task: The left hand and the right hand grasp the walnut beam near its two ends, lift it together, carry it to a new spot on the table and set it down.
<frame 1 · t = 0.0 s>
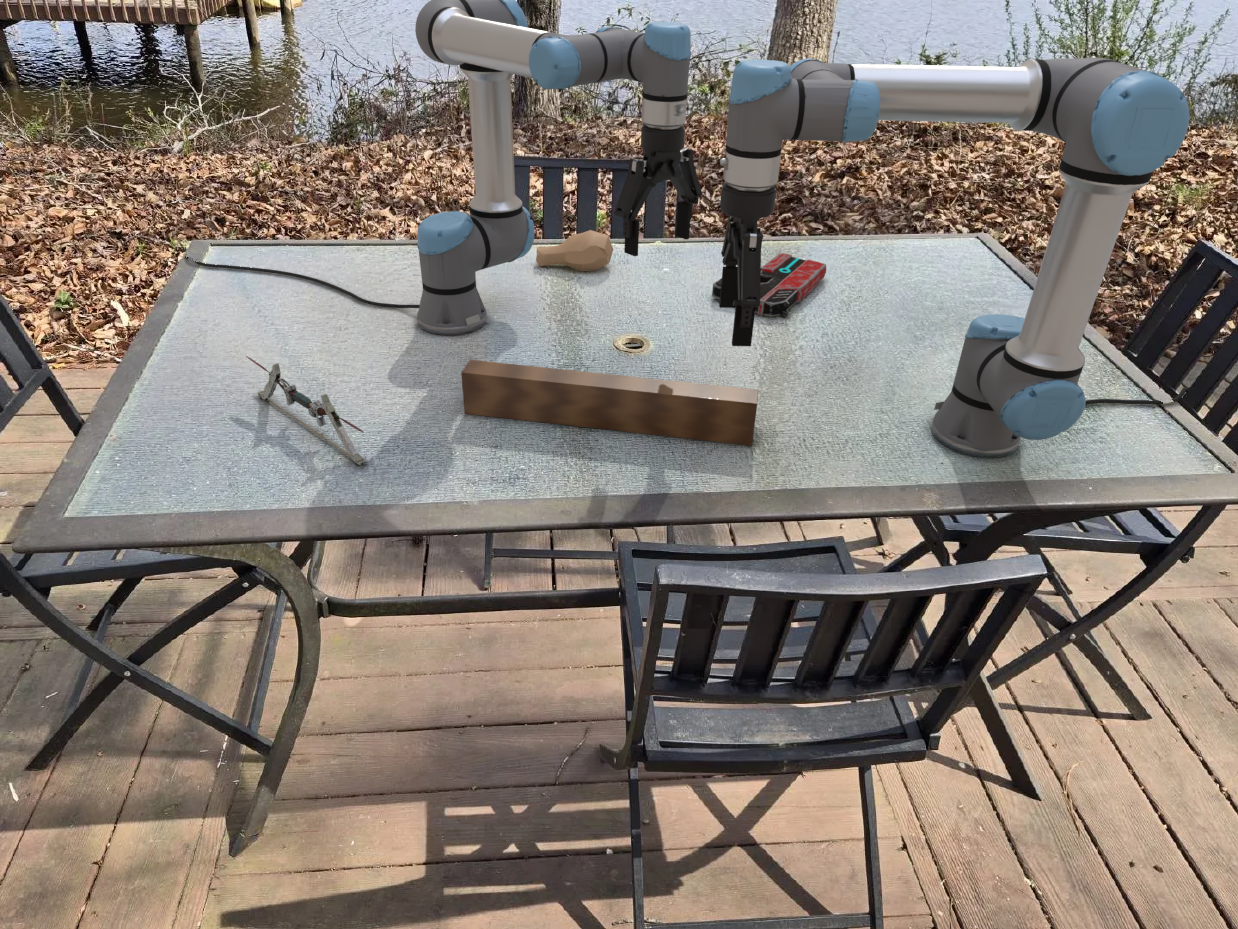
left hand: (657, 245, 161), 28 cm above the table, tool pointing down, fingers open, 13 cm apart
right hand: (734, 325, 133), 28 cm above the table, tool pointing down, fingers open, 13 cm apart
beam: (607, 422, 162), on the table
squash: (574, 266, 227), on the table
gun: (770, 291, 216), on the table
bow: (309, 428, 158), on the table
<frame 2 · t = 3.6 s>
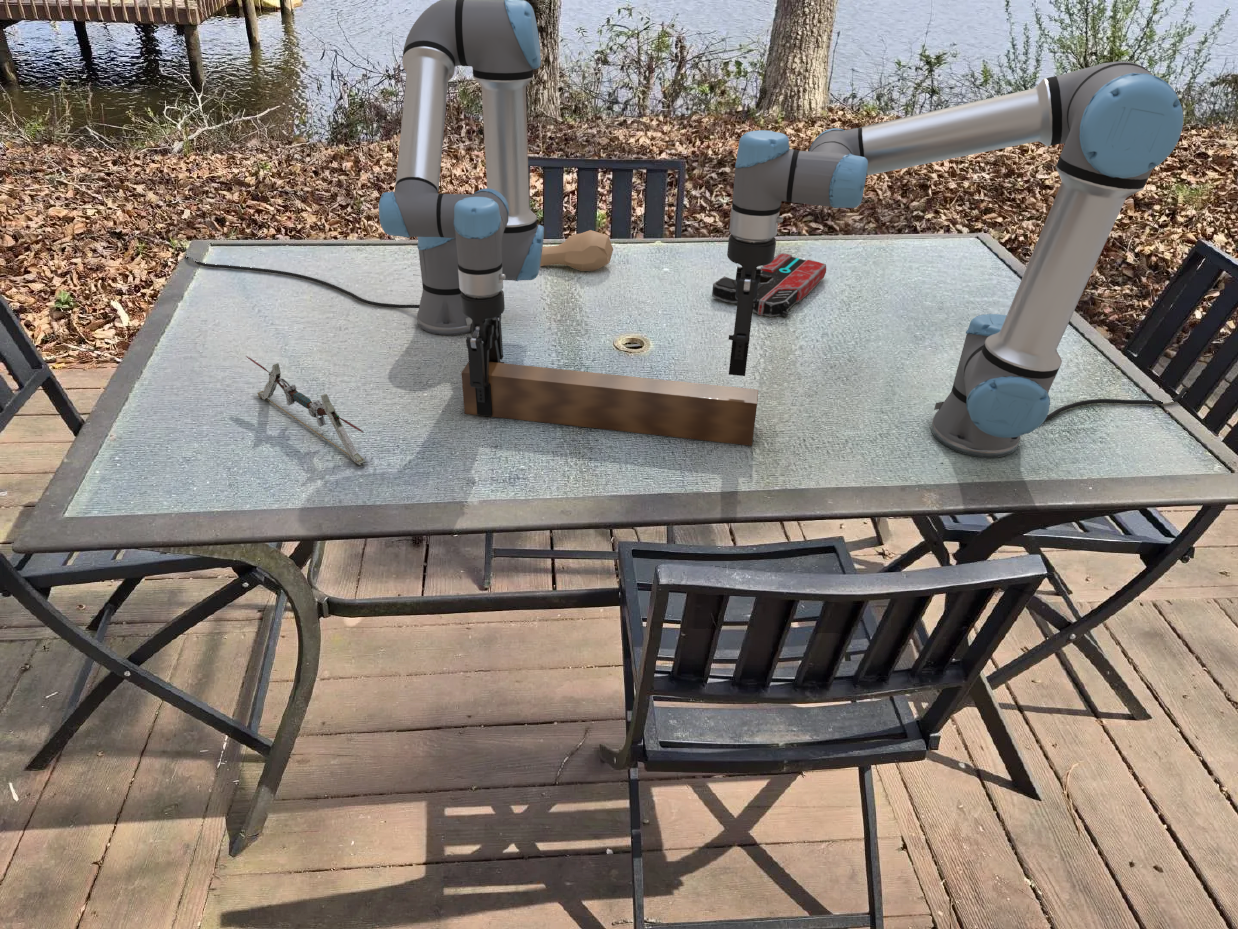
left hand: (489, 406, 165), 1 cm above the table, tool pointing down, fingers closed on beam, 5 cm apart
right hand: (739, 356, 150), 16 cm above the table, tool pointing down, fingers open, 13 cm apart
beam: (607, 422, 162), on the table, touching left hand
everything else where it was.
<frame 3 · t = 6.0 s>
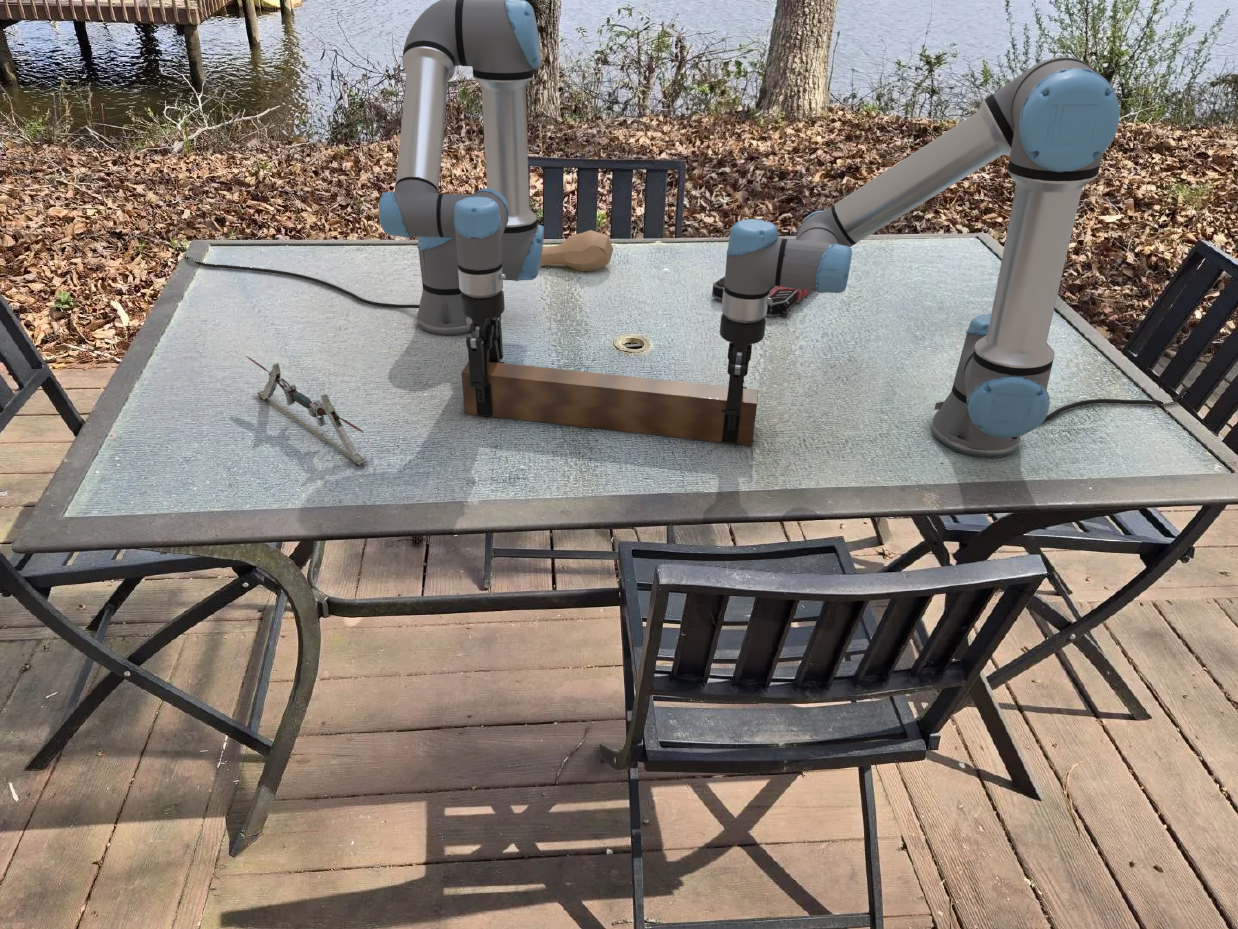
left hand: (489, 406, 165), 1 cm above the table, tool pointing down, fingers closed on beam, 5 cm apart
right hand: (730, 433, 159), 1 cm above the table, tool pointing down, fingers closed on beam, 5 cm apart
beam: (607, 422, 162), on the table, touching left hand, right hand
everything else where it was.
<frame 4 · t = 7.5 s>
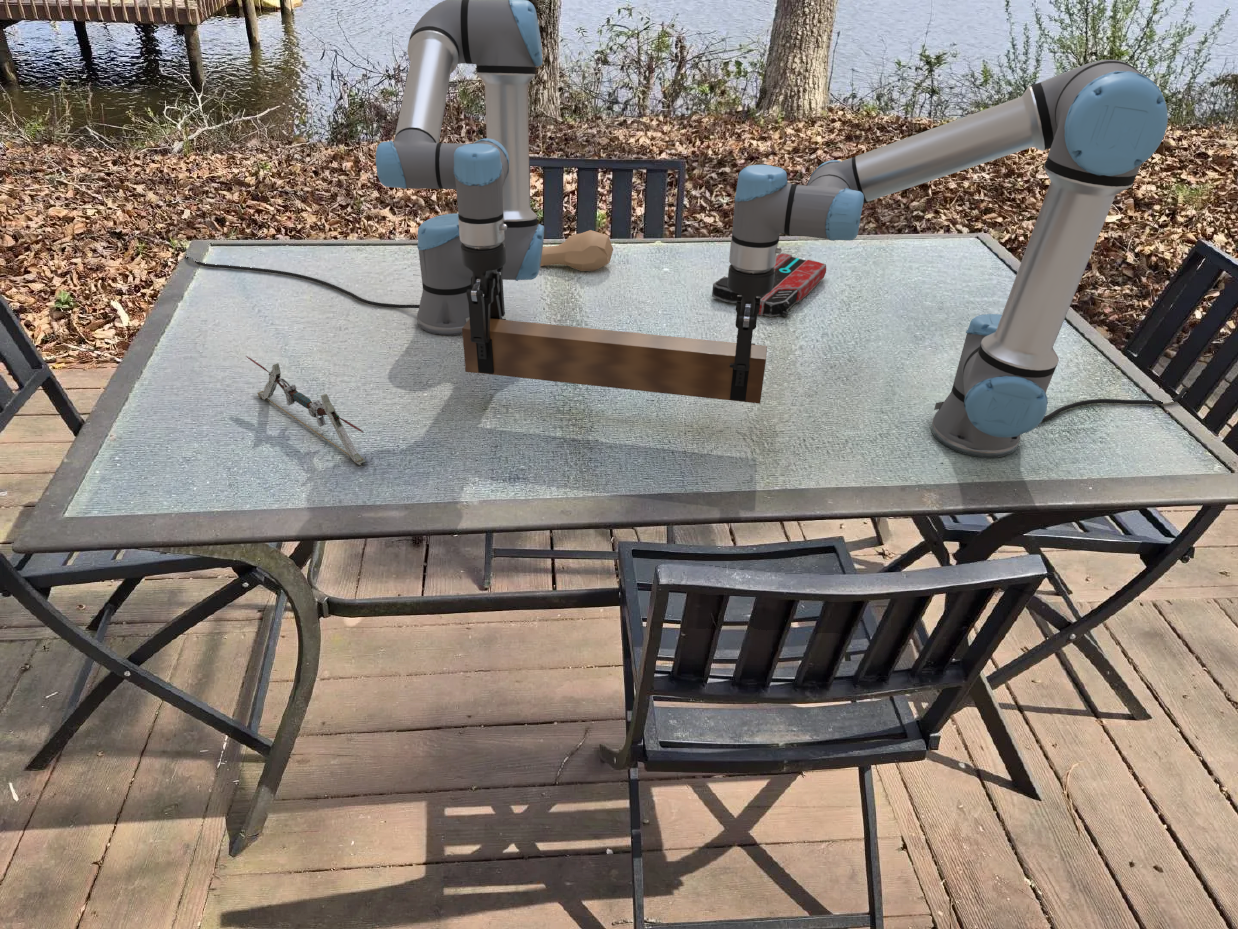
left hand: (491, 364, 161), 9 cm above the table, tool pointing down, fingers closed on beam, 5 cm apart
right hand: (738, 391, 155), 9 cm above the table, tool pointing down, fingers closed on beam, 5 cm apart
beam: (612, 380, 158), point 8 cm above the table, touching left hand, right hand
everything else where it was.
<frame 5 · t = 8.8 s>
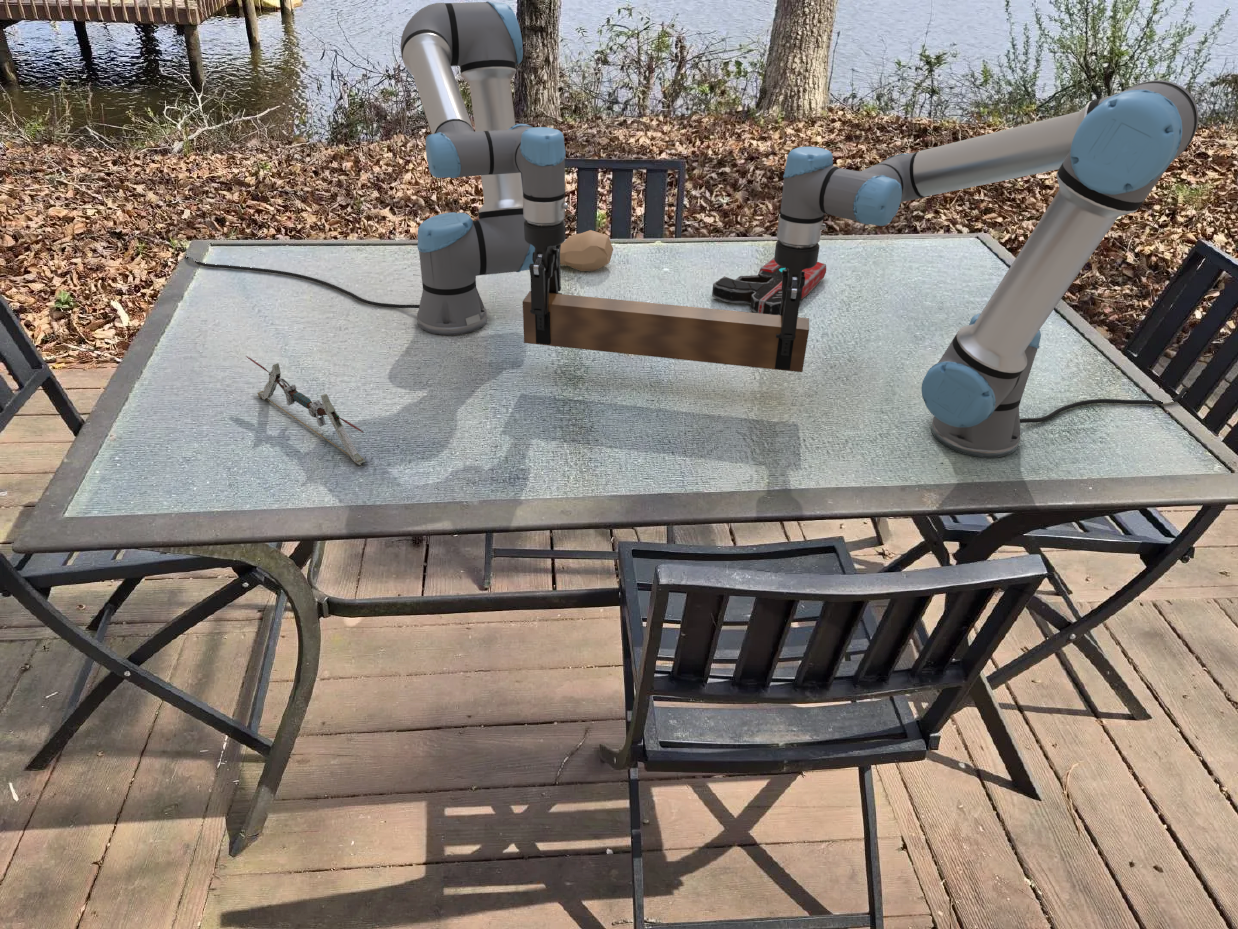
left hand: (547, 336, 171), 9 cm above the table, tool pointing down, fingers closed on beam, 5 cm apart
right hand: (782, 361, 165), 9 cm above the table, tool pointing down, fingers closed on beam, 5 cm apart
beam: (661, 351, 169), point 8 cm above the table, touching left hand, right hand
everything else where it was.
when the left hand's fingers open (2 cm above the table, at t = 11.6 s): beam drops 1 cm, on the table.
when the right hand's fingers open (2 cm above the table, at t = 11.6 s): beam drops 1 cm, on the table.
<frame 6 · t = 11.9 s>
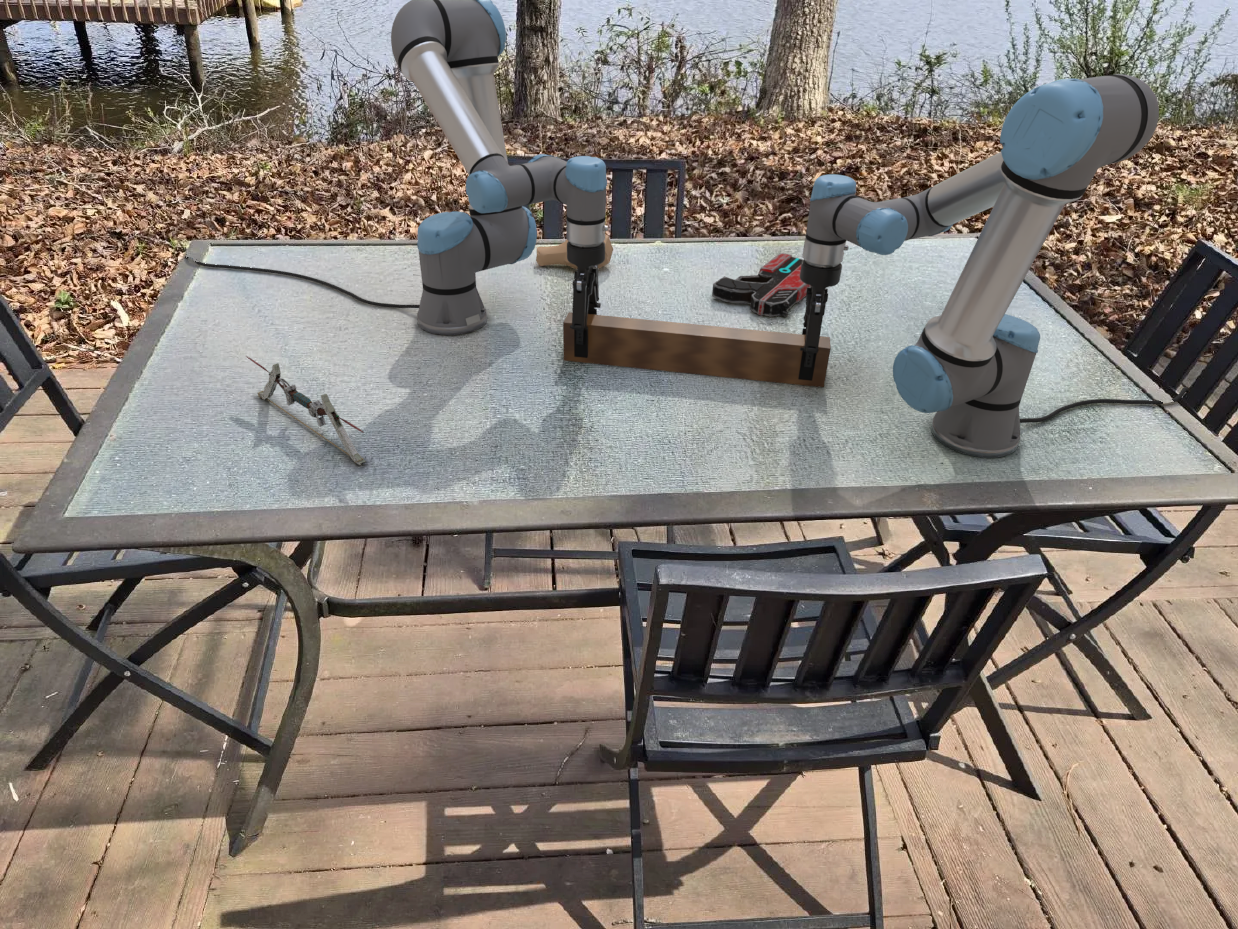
left hand: (585, 346, 183), 2 cm above the table, tool pointing down, fingers open, 8 cm apart
right hand: (805, 368, 177), 2 cm above the table, tool pointing down, fingers open, 8 cm apart
beam: (692, 368, 181), on the table
everything else where it was.
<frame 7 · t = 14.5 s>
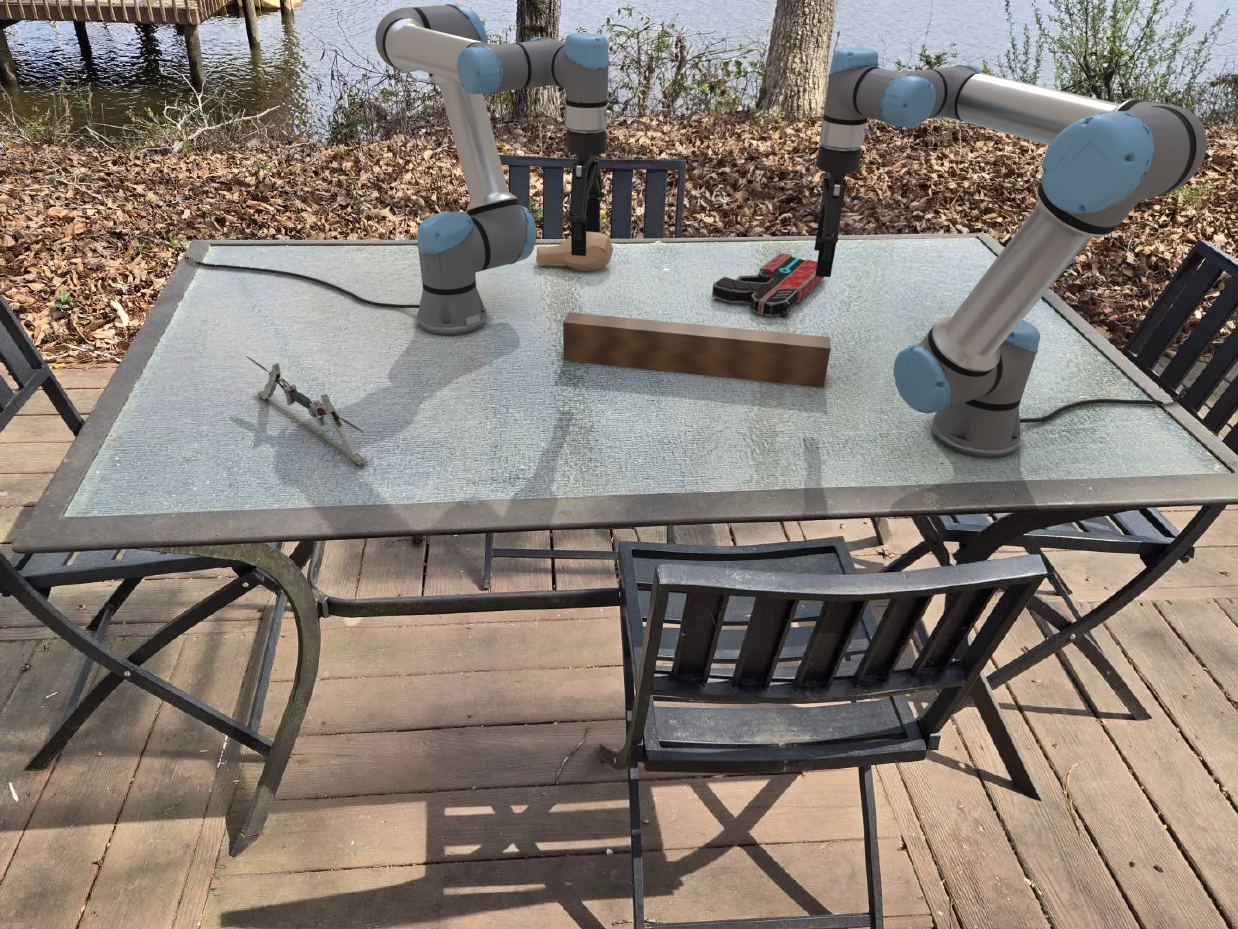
left hand: (586, 243, 170), 25 cm above the table, tool pointing down, fingers open, 13 cm apart
right hand: (822, 262, 165), 25 cm above the table, tool pointing down, fingers open, 13 cm apart
nothing on the table moved.
at the end: beam inside the target area (0.0 cm from its centre), on the table; beam tilted 0°; beam never tilted more than 1° during the clip; both hands held the beam at the same time; the left hand is holding nothing; the right hand is holding nothing; beam at rest at the end (0.0 cm/s) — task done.
